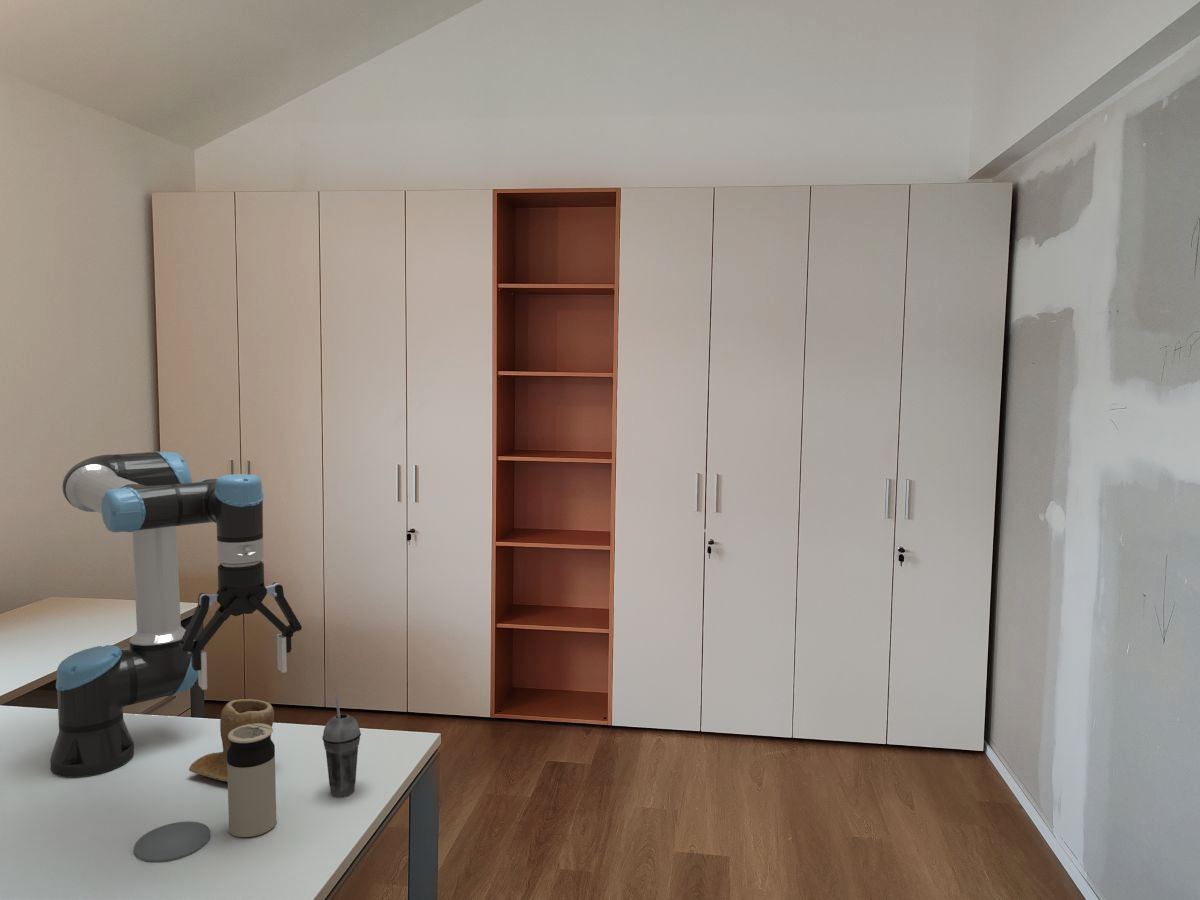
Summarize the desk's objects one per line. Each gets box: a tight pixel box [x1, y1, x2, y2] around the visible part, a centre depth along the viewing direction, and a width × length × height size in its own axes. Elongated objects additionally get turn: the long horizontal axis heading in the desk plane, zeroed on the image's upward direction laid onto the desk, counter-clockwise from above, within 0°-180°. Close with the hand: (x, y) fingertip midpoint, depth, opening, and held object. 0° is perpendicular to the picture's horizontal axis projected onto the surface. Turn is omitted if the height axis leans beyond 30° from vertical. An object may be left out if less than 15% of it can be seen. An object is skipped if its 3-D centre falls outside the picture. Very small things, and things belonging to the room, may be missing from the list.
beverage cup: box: [321, 695, 362, 798], centre depth 164 cm, size 7×7×20 cm
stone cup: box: [188, 698, 275, 783], centre depth 171 cm, size 15×12×15 cm
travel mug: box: [227, 723, 277, 838], centre depth 151 cm, size 8×8×18 cm
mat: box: [133, 821, 212, 863], centre depth 147 cm, size 12×12×1 cm
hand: (243, 678), depth 150 cm, fingers open, 13 cm apart
